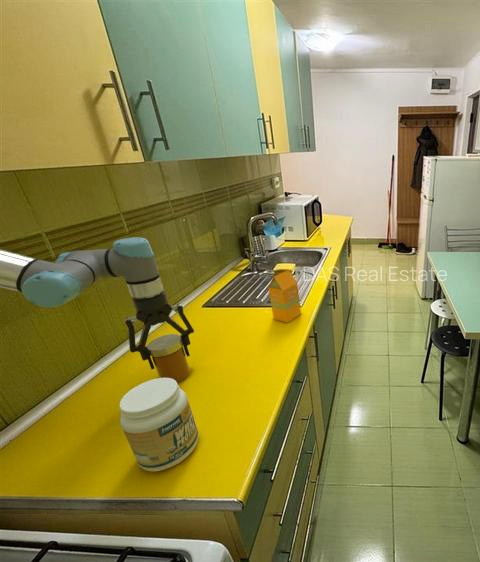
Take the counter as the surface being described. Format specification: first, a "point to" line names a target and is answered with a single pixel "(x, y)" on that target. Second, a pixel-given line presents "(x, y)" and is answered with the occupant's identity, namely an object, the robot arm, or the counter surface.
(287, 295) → the orange juice
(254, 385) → the counter surface
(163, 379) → the supplement tub
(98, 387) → the counter surface
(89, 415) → the counter surface
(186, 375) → the jar
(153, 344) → the lid
